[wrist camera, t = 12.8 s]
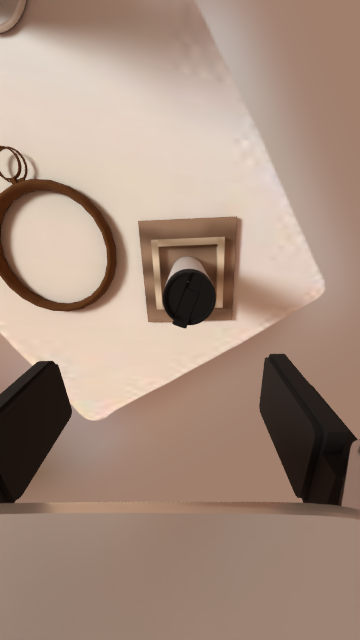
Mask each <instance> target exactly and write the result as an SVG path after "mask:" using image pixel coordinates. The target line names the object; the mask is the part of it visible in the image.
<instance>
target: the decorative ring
mask: <svg viewBox="0 0 360 640" xmlns="http://www.w3.org/2000/svg"><path fill="white" fill-rule="evenodd" d="M6 148H7V149H9V150H10V151H11V152H12V153H13V154H14V155H15V157H16V159H17V161H18V172H17V174H16V176H14V177H13V178H5V177H4V176H3V175H2V174H1V172H0V176H1V177H3V178H4V179H5V180H7V181H8V182H11V183H12V184H13V185H11V186H10V187H9V188H7V189H6V190H4V191H3V192H2V193H0V237H1V224H2V220H3V217H4V214H5V212H6V210H7V209H8V208H9V206H10V205H11V203H12V202H13V201H14V200H16V199H17V198H18V197H20V196H21V195H23V194H24V193H28V192H32V191H35V190H49V191H55V192H58V193H61V194H63V195H66V196H68V197H70V198H71V199H73V200H74V201H76V202H77V203H79V204H80V205H82V206H83V208H84V209H85V210H86V211H87V212H88V213H89V214H90V215H91V216H92V217H93V218H94V220H95V222H96V224H97V225H98V227H99V229H100V230H101V232H102V235H103V238H104V241H105V245H106V248H107V267H106V272H105V277H104V279H103V280H102V282H101V284H100V286H99V288H98V289H97V290H96V291H95V292H94V293H93V294H92V295H91V296H89V297H87V298H85V299H84V300H82V301H79V302H74V303H56V302H52V301H49V300H46V299H43V298H41V297H40V296H38V295H36V294H34V293H32V292H31V291H30V290H29V289H27V288H26V287H25V286H24V285H23V284H22V283H20V281H19V280H18V279H17V278H16V276H15V275H14V274H13V272H12V271H11V270H10V268H9V266H8V263H7V261H6V259H5V257H4V254H3V250H2V246H1V242H0V276H1V277H2V279H3V280H4V281H5V282H6V284H7V285H8V286H9V287H10V288H11V289H12V290H13V291H15V292H16V293H17V294H18V295H19V296H21V297H22V298H23V299H25V300H27V301H29V302H31V303H32V304H34V305H36V306H39V307H42V308H46V309H49V310H52V311H73V310H77V309H82V308H85V307H86V306H88V305H90V304H92V303H94V302H96V301H97V300H98V299H99V298H100V297H101V296H102V295H103V294H104V293H105V292H106V291H107V289H108V287H109V285H110V283H111V281H112V280H113V277H114V272H115V267H116V246H115V243H114V240H113V237H112V233H111V230H110V228H109V226H108V225H107V223H106V221H105V219H104V218H103V216H102V214H101V213H100V212H99V210H98V209H97V208H96V207H95V206H94V205H93V204H92V203H91V202H90V201H89V200H88V199H87V198H86V197H85V196H83V195H82V194H80V193H79V192H77V191H76V190H74V189H73V188H71V187H69V186H66V185H63V184H61V183H58V182H55V181H52V180H40V179H30V180H26V181H25V177H26V174H27V166H26V163H25V160H24V158H23V157H22V155H21V154H20V153H19V152H18V151H17V150H15V149H14V148H11V147H5V146H0V151H1V150H3V149H6ZM11 149H12V150H14V151H16V152H17V153H18V154H19V155H20V156H21V158H22V159H23V162H24V164H25V175H24V177H22V178H20V179H18V180H17V179H16V178H18V177H19V175H20V173H21V162H20V160H19V158H18V156H17V154H16V153H15V152H14V151H12V150H11ZM9 180H10V181H9Z"/></svg>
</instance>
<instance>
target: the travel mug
mask: <svg viewBox="0 0 360 640" xmlns="http://www.w3.org/2000/svg"><path fill="white" fill-rule="evenodd" d="M215 304H216V292H215V289H214V287H213V284H212V282H211V280H210V278H209V277H208V275H207V273H206V271H205V270H204V268H203V266H202V264H201V263H200V262H199V260H197V259H196V258H194V257H191V256H184V257H181V258H179V259H178V260H177V261H176V262H175V263H174V265H173V267H172V270H171V272H170V275H169V277H168V280H167V282H166V285H165V289H164V292H163V306H164V309H165V311H166V313H167V314H168V316H169V317H170V318H171V319H173V320H174V321H173V323H172V324H174V325H176V326H179V327H182V328H186V327H187V325H195V324H198V323H201V322H202V321H204V320H205V319H207V318H208V317H209V316H210V314H211V313H212V311H213V309H214V307H215Z"/></svg>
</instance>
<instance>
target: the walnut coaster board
mask: <svg viewBox="0 0 360 640" xmlns="http://www.w3.org/2000/svg"><path fill="white" fill-rule="evenodd" d="M138 225H139V235H140V245H141V255H142V265H143V274H144V284H145V294H146V304H147V314H148V322H171V321H174V320H173V319H171V318H170V317H169V316H168V314H167V313H166V311H165V309H164V306H163V292H164V289H165V285H166V282H167V280H168V277H169V275H170V272H171V270H172V267H173V265H174V263H175V262H176V261H177V260H178V259H179V258H181V257H184V256H191V257H194V258H196V259H197V260H199V262H200V263H201V264H202V266H203V268H204V270H205V271H206V273H207V275H208V277H209V278H210V280H211V282H212V284H213V287H214V289H215V292H216V304H215V307H214V309H213V311H212V313H211V314H210V316H209V317H208V318H207V319H205V320H204V321H206V320H232V305H233V285H234V266H235V247H236V228H237V217H217V218H196V219H174V220H152V221H138Z"/></svg>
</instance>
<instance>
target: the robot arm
mask: <svg viewBox="0 0 360 640" xmlns="http://www.w3.org/2000/svg"><path fill="white" fill-rule="evenodd" d="M26 1H27V0H0V33H1V32H5V31H7V30H9V29H10V28H12V27H13V26H14V25H15V24H16V23H17V21H18V20H19V19H20V17H21V15H22V13H23V11H24V8H25V4H26ZM260 413H261V415H262V418H263V420H264V422H265V425H266V427H267V429H268V432H269V434H270V436H271V439H272V441H273V443H274V446H275V448H276V451H277V453H278V455H279V458H280V460H281V462H282V465H283V467H284V469H285V472H286V474H287V476H288V479H289V481H290V484H291V486H292V488H293V491H294V493H295V495H296V496H297V497H298V498H302V500H303V503H284V502H74V503H73V502H70V503H69V502H65V503H14V502H15V501H16V500H17V499H19V498H20V497H21V496H22V494H23V493H24V491H25V490H26V488H27V487H28V485H29V483H30V482H31V480H32V478H33V477H34V475H35V474H36V472H37V470H38V469H39V467H40V465H41V464H42V462H43V461H44V459H45V458H46V456H47V454H48V453H49V451H50V450H51V448H52V446H53V444H54V443H55V442H56V440H57V438H58V437H59V435H60V433H61V432H62V430H63V429H64V427H65V425H66V424H67V422H68V421H69V419H70V417H71V414H72V409H71V405H70V402H69V399H68V396H67V392H66V389H65V386H64V382H63V379H62V376H61V373H60V369H59V366H58V365H57V364H55V363H54V362H53V361H39V362H37V363H36V364H34V365H33V366H32V367H31V368H30V369H29V370H28V371H26V372H25V373H24V374H23V375H22V376H21V377H20V378H18V379H17V380H16V381H15V382H14V383H13V384H11V385H10V386H9V387H8V388H7V389H6V390H5V391H3V392H2V393H1V394H0V640H360V439H357V438H356V437H355V436H354V435H353V434H352V432H351V431H350V430H349V429H348V428H347V426H346V425H345V424H344V423H343V422H342V420H341V419H340V418H339V417H338V416H337V415H336V413H335V412H334V411H333V410H332V409H331V408H330V406H329V405H328V404H327V403H326V401H325V400H324V399H323V398H322V397H321V396H320V394H319V393H318V392H317V391H316V390H315V388H314V387H313V386H312V385H310V384H309V383H308V381H307V380H306V379H305V378H304V377H303V375H302V374H301V373H300V372H299V371H298V370H297V368H296V367H295V366H294V365H293V364H292V362H291V361H290V360H289V359H288V357H287V356H286V355H285V354H270V355H269V358H265V362H264V371H263V379H262V388H261V396H260Z"/></svg>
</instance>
